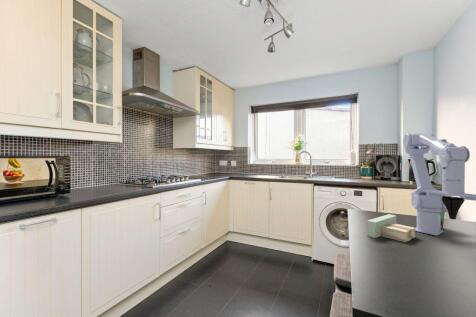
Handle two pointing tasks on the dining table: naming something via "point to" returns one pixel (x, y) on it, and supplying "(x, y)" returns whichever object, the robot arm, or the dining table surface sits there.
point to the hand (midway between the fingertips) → (452, 218)
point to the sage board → (379, 224)
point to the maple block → (398, 232)
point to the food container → (442, 217)
